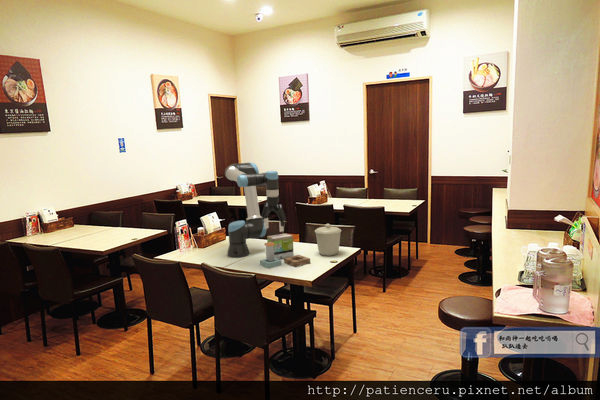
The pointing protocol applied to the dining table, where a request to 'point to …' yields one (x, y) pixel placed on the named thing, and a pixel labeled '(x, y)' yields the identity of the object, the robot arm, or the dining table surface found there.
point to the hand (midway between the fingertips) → (274, 229)
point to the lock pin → (270, 251)
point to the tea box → (282, 245)
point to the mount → (270, 263)
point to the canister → (328, 240)
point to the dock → (297, 260)
